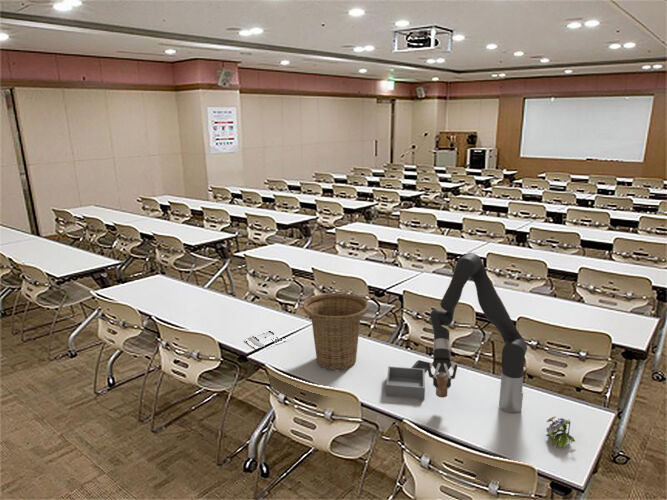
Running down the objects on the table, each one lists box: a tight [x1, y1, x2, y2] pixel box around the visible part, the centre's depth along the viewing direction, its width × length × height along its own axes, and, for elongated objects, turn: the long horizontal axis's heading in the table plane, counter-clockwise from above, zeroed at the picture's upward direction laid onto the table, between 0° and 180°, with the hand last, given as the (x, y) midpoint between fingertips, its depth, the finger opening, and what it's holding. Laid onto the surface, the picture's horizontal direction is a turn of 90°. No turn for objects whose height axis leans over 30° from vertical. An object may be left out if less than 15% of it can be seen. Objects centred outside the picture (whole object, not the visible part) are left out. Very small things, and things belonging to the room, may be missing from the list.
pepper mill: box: [435, 372, 449, 398], centre depth 217 cm, size 5×5×10 cm
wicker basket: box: [302, 292, 370, 371], centre depth 261 cm, size 35×35×33 cm
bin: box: [385, 365, 426, 400], centre depth 237 cm, size 18×18×6 cm
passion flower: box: [545, 416, 576, 449], centre depth 197 cm, size 11×11×12 cm
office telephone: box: [246, 336, 286, 348], centre depth 292 cm, size 23×3×20 cm
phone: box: [411, 360, 432, 374], centre depth 256 cm, size 8×1×15 cm
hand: (442, 387), depth 215 cm, fingers closed on pepper mill, 5 cm apart
